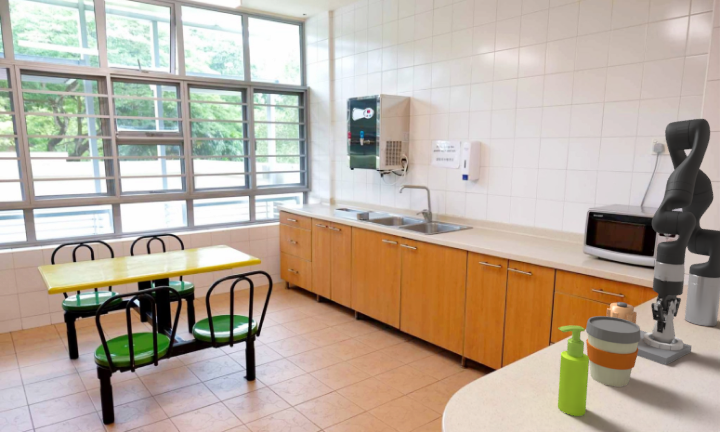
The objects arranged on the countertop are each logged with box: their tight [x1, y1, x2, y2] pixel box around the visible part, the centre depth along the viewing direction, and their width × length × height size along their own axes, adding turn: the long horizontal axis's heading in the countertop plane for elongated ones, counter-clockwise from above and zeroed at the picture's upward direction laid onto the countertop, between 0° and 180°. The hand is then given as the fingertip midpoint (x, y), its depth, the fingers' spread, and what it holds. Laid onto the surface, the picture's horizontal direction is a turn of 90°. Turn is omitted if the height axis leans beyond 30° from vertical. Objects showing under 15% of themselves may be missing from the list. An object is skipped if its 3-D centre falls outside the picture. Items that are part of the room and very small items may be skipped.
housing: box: [606, 301, 692, 366], centre depth 141 cm, size 16×21×13 cm
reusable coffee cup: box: [585, 315, 641, 388], centre depth 120 cm, size 13×13×15 cm
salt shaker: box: [651, 303, 676, 344], centre depth 138 cm, size 6×6×13 cm
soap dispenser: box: [557, 325, 590, 417], centre depth 105 cm, size 6×7×20 cm
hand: (663, 332), depth 138 cm, fingers closed on salt shaker, 3 cm apart
